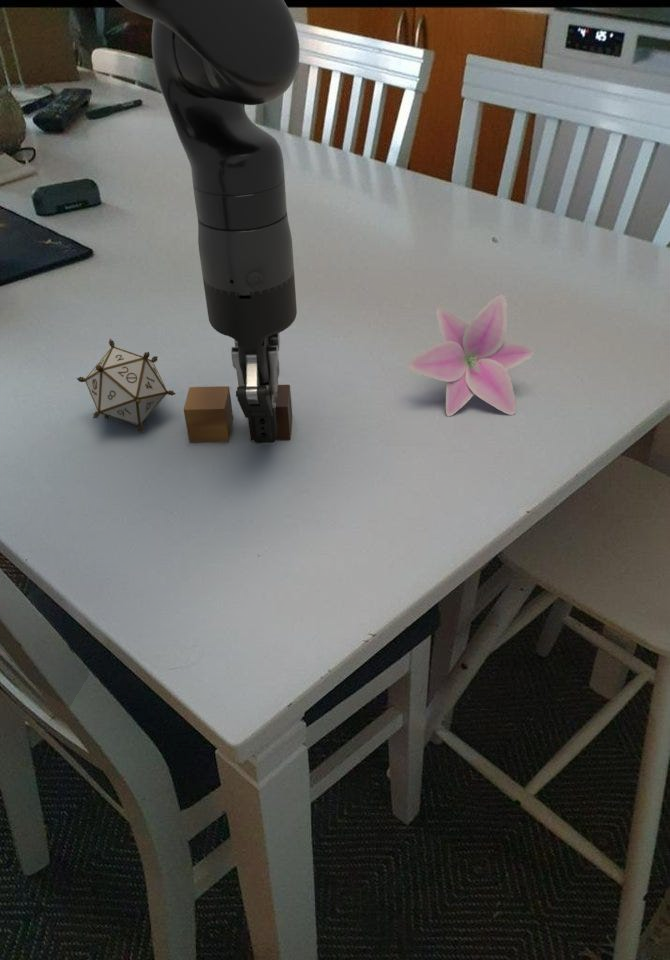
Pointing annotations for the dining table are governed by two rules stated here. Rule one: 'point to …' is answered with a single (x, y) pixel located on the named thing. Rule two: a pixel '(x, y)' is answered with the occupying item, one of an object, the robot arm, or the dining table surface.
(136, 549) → the dining table surface
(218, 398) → the oak block
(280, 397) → the walnut block
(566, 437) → the dining table surface
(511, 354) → the lily
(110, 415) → the game die
